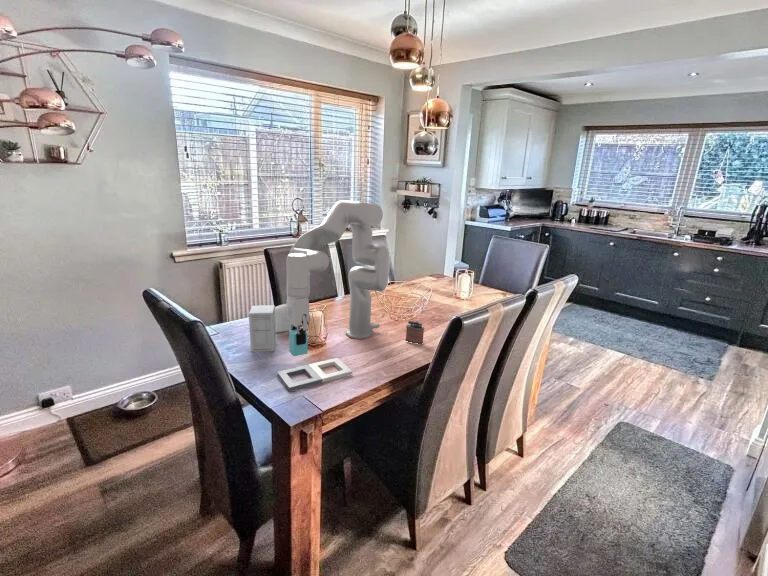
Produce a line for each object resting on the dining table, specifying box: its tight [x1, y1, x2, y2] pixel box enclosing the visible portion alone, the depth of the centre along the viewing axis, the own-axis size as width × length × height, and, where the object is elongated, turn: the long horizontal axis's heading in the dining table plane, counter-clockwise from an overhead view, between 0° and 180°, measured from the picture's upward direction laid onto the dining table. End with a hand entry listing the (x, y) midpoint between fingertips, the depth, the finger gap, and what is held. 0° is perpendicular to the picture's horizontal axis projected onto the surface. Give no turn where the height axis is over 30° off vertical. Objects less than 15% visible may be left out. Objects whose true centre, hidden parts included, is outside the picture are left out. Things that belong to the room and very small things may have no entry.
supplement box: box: [248, 304, 277, 353], centre depth 161 cm, size 10×9×17 cm
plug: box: [288, 329, 309, 357], centre depth 136 cm, size 5×4×8 cm
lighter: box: [404, 319, 425, 344], centre depth 174 cm, size 8×3×10 cm, turn 71°
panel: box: [276, 357, 353, 392], centre depth 144 cm, size 24×12×2 cm, turn 123°
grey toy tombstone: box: [275, 303, 291, 333], centre depth 180 cm, size 10×4×12 cm, turn 123°
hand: (298, 341), depth 136 cm, fingers closed on plug, 3 cm apart
